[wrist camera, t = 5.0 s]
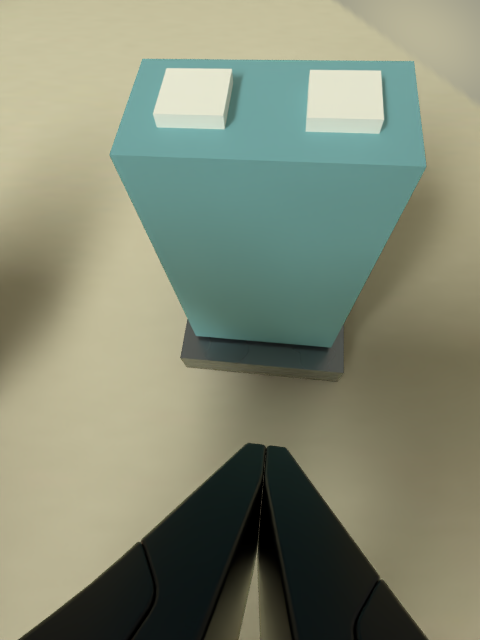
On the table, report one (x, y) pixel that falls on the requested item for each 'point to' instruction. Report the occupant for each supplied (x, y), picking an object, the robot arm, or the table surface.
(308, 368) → the key two base
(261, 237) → the key two
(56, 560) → the table surface
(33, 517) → the table surface
